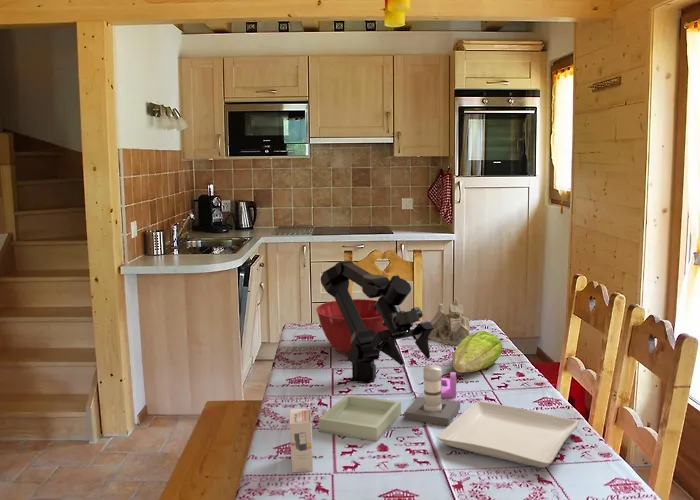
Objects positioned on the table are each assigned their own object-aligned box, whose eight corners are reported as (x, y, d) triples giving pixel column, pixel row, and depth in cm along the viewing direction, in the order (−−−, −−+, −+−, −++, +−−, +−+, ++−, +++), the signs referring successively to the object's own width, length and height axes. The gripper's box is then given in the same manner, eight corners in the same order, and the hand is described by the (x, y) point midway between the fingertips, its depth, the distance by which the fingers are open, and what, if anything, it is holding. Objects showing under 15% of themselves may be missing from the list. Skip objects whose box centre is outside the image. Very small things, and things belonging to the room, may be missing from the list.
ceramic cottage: (427, 332, 258) (429, 295, 255) (470, 334, 256) (472, 297, 253) (426, 346, 243) (428, 307, 240) (472, 349, 241) (474, 309, 238)
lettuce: (433, 359, 210) (462, 341, 203) (465, 335, 230) (493, 319, 222) (455, 392, 208) (485, 375, 201) (485, 365, 228) (514, 349, 220)
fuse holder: (404, 419, 177) (404, 412, 176) (418, 403, 188) (418, 396, 187) (448, 425, 172) (448, 418, 172) (460, 409, 183) (460, 402, 183)
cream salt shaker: (421, 416, 179) (421, 369, 177) (426, 409, 183) (426, 364, 181) (438, 418, 177) (438, 371, 175) (443, 412, 181) (443, 366, 179)
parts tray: (318, 431, 170) (318, 418, 170) (347, 406, 187) (346, 394, 186) (377, 441, 164) (376, 427, 163) (401, 414, 180) (400, 401, 180)
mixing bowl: (410, 344, 243) (409, 303, 241) (370, 367, 220) (369, 321, 217) (345, 334, 258) (344, 295, 256) (301, 354, 235) (300, 311, 232)
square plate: (549, 479, 144) (550, 462, 144) (434, 451, 159) (434, 435, 158) (579, 432, 167) (580, 418, 167) (476, 412, 181) (476, 398, 181)
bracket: (456, 398, 191) (456, 374, 190) (436, 398, 192) (436, 374, 191) (451, 382, 204) (451, 360, 203) (433, 382, 204) (433, 360, 203)
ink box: (291, 455, 157) (288, 396, 155) (312, 454, 158) (310, 395, 155) (291, 473, 149) (288, 410, 147) (313, 472, 149) (311, 409, 147)
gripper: (375, 303, 181) (400, 352, 173) (429, 294, 191) (455, 340, 183) (360, 325, 188) (383, 373, 181) (412, 315, 198) (436, 360, 191)
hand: (415, 361), depth 184 cm, fingers open, 9 cm apart
